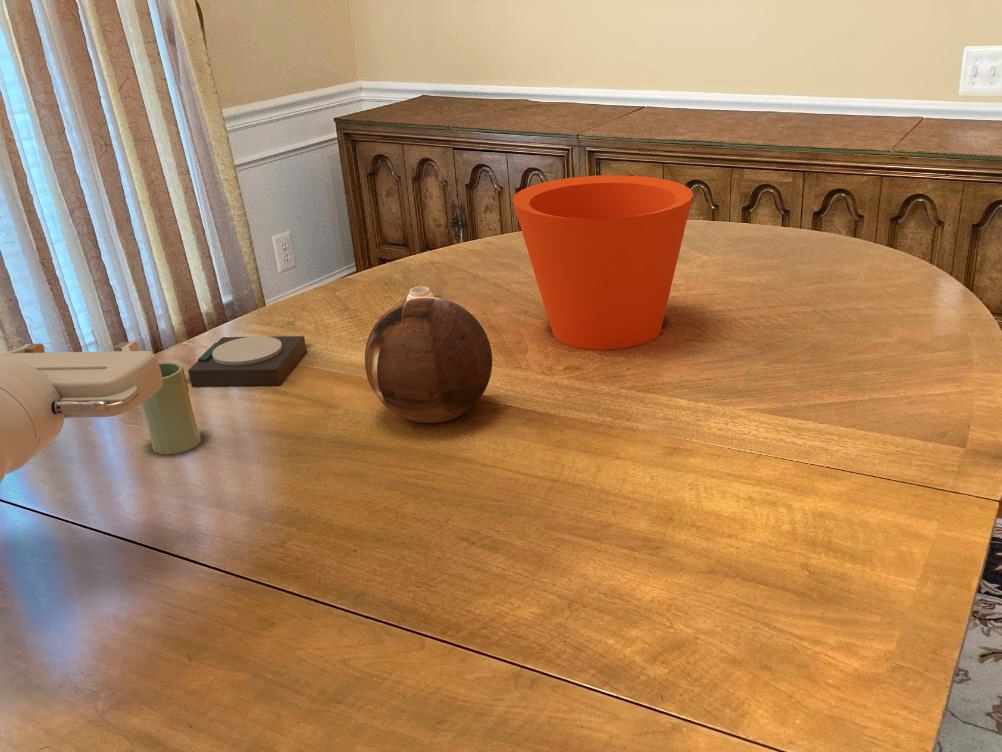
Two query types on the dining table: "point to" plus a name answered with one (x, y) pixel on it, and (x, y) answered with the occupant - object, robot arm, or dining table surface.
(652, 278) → the flowerpot
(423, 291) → the lidless jar
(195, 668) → the dining table surface
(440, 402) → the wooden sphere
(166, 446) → the cup
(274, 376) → the scale
